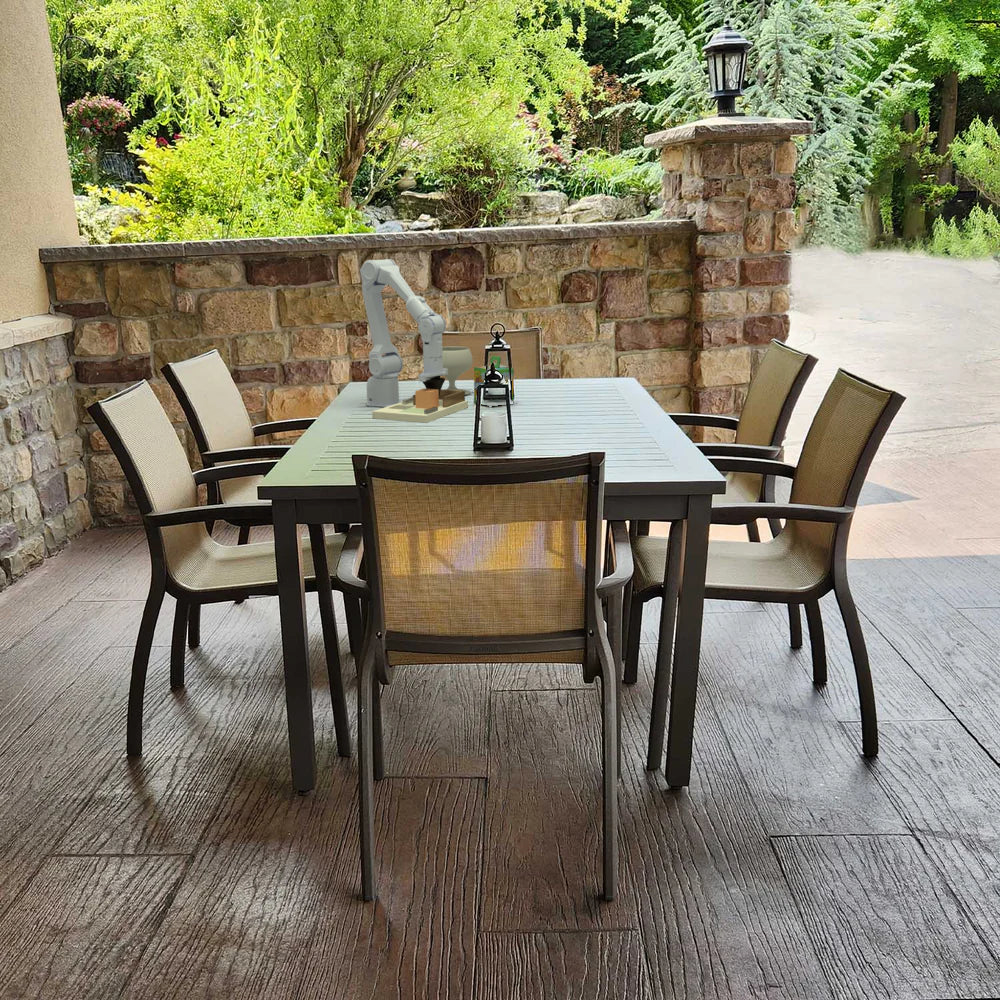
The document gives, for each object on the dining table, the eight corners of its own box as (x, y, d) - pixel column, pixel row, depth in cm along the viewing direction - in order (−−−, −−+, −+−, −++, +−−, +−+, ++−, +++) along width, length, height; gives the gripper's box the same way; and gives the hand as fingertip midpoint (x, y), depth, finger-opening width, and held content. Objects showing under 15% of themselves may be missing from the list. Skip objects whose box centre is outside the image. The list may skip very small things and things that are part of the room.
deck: (372, 418, 292) (372, 411, 291) (416, 403, 314) (416, 397, 314) (426, 422, 284) (426, 415, 284) (468, 407, 307) (467, 400, 306)
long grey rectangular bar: (402, 404, 302) (402, 400, 302) (417, 399, 310) (417, 395, 309) (411, 404, 301) (411, 401, 300) (426, 400, 308) (426, 396, 308)
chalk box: (473, 404, 313) (472, 356, 309) (496, 400, 318) (496, 353, 314) (491, 408, 306) (490, 359, 302) (514, 404, 311) (514, 356, 307)
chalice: (426, 392, 335) (425, 347, 331) (467, 389, 339) (466, 345, 335) (436, 398, 322) (435, 352, 318) (478, 396, 326) (477, 349, 322)
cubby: (413, 405, 300) (412, 395, 300) (433, 398, 311) (433, 388, 310) (445, 407, 296) (445, 397, 295) (465, 400, 307) (464, 390, 306)
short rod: (424, 414, 286) (424, 409, 286) (434, 410, 291) (434, 406, 291) (427, 414, 286) (427, 410, 285) (437, 410, 291) (437, 406, 291)
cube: (415, 407, 296) (415, 391, 295) (424, 405, 300) (423, 388, 299) (430, 409, 294) (430, 392, 292) (438, 406, 298) (438, 389, 297)
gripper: (432, 360, 289) (434, 407, 293) (456, 354, 302) (457, 399, 305) (411, 359, 292) (413, 405, 295) (435, 353, 304) (436, 397, 308)
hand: (434, 402), depth 301 cm, fingers closed
